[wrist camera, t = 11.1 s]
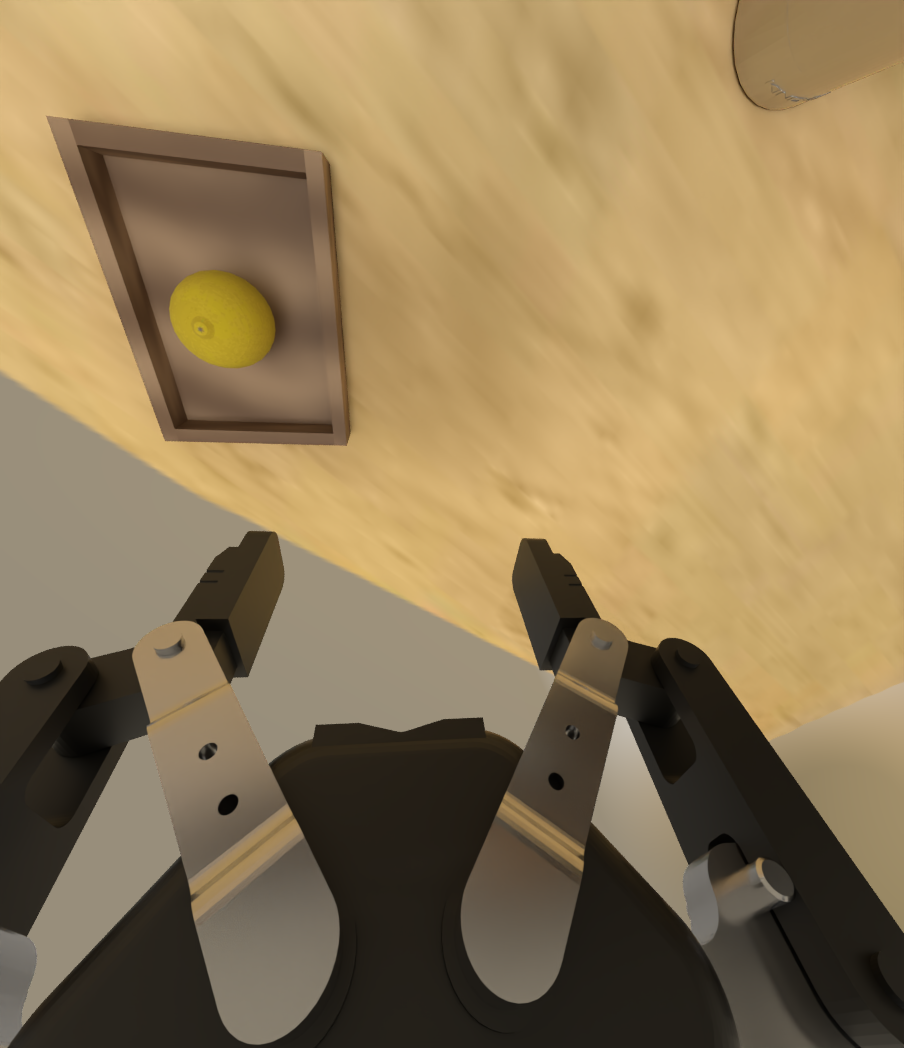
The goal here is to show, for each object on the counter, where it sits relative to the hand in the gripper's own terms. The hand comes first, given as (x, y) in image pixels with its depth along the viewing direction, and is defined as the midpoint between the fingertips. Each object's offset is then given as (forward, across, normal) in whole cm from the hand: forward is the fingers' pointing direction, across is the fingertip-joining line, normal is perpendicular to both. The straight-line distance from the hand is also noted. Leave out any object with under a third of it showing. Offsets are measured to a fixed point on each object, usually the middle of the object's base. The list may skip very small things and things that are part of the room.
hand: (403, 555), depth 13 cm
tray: (+24, +12, -4) cm, 27 cm away
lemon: (+23, +12, -4) cm, 26 cm away
